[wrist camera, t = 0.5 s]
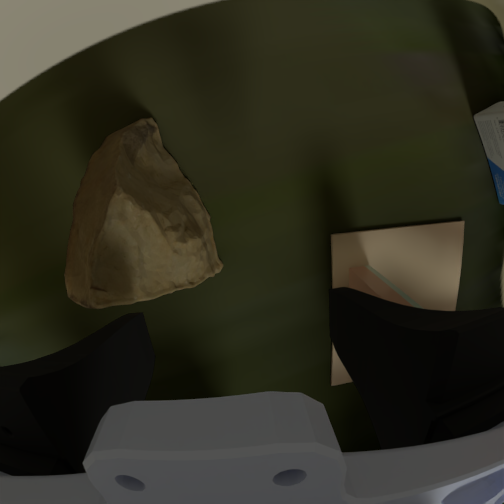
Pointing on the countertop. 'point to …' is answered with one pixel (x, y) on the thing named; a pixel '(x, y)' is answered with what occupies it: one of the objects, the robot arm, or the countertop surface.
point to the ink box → (493, 142)
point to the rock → (136, 224)
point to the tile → (377, 286)
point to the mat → (402, 265)
